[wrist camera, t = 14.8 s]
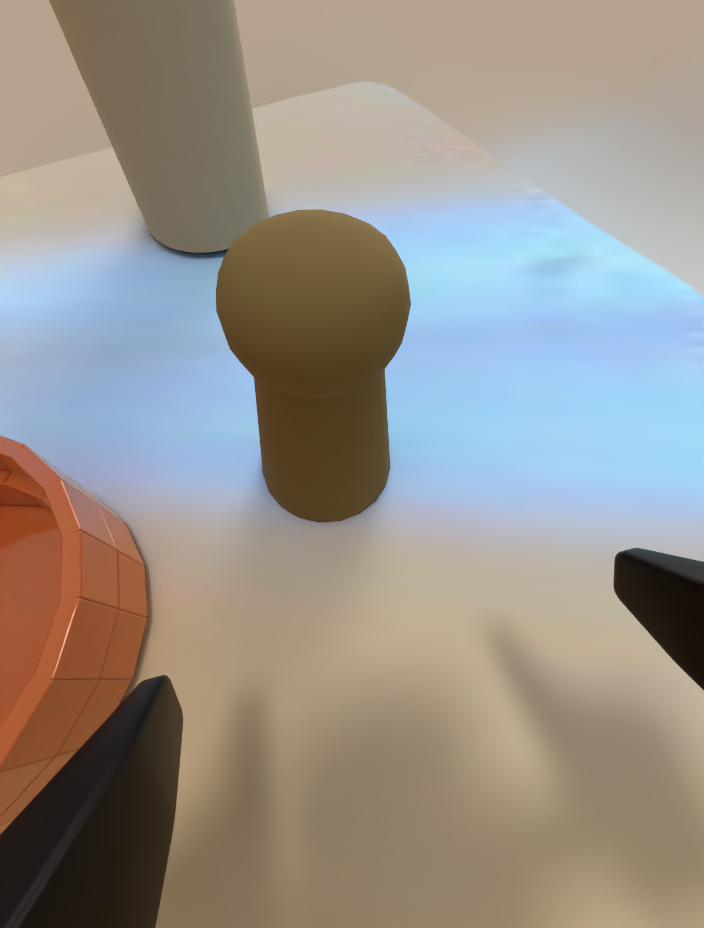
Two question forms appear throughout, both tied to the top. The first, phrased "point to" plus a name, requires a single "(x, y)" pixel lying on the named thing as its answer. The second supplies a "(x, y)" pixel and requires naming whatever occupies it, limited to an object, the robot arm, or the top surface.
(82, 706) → the orange brown bowl
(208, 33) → the travel mug
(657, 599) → the robot arm
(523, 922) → the top surface
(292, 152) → the top surface
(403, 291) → the cork
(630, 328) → the top surface
